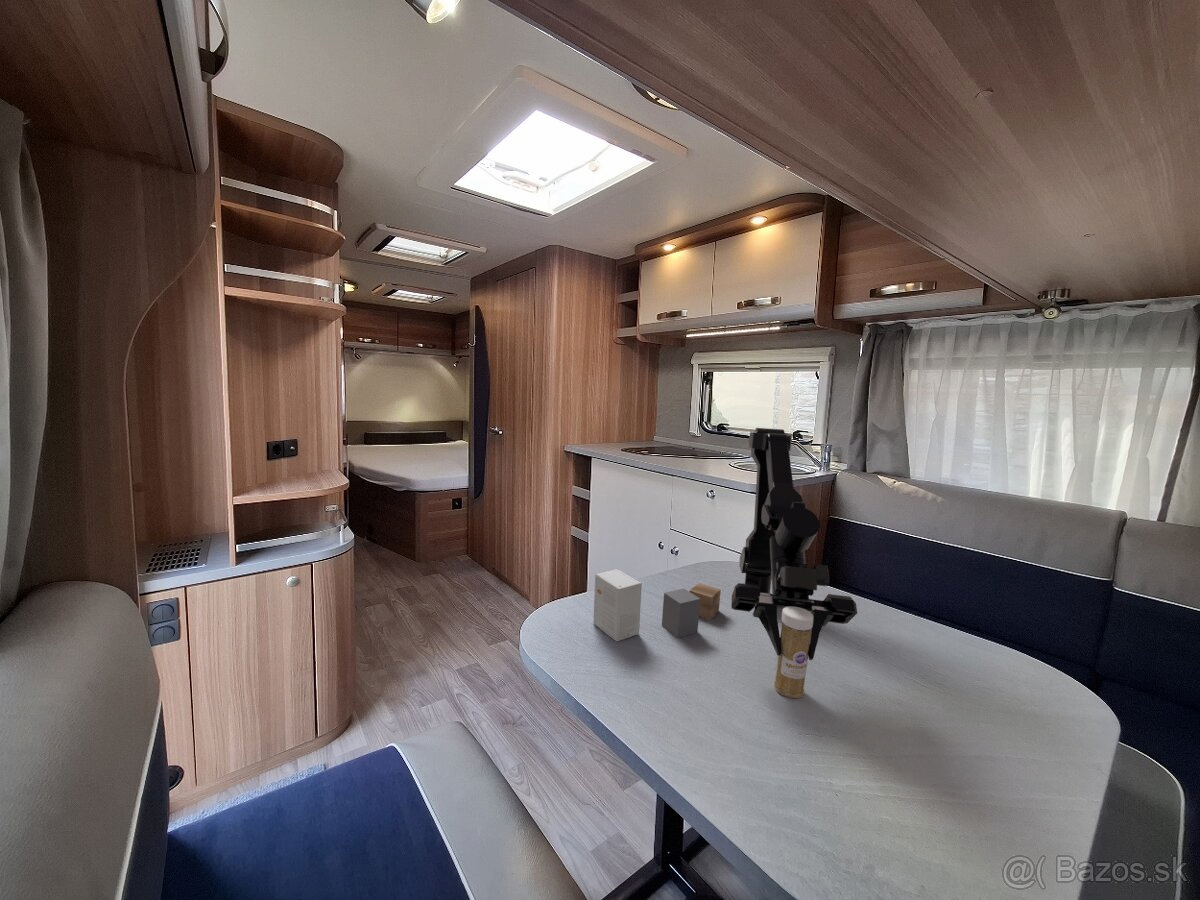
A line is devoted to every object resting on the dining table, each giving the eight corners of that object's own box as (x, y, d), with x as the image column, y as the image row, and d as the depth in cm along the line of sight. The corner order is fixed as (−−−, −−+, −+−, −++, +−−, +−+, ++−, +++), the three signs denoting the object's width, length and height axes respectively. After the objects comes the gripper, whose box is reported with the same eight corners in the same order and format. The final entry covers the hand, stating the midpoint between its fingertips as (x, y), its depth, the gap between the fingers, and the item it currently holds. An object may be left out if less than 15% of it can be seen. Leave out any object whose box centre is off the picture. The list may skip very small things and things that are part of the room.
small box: (639, 635, 90) (643, 583, 89) (616, 642, 87) (619, 589, 86) (615, 616, 97) (617, 568, 95) (592, 623, 94) (594, 573, 92)
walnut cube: (697, 604, 104) (699, 582, 104) (718, 611, 102) (720, 589, 101) (687, 612, 100) (689, 590, 100) (709, 620, 97) (711, 597, 97)
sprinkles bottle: (788, 702, 73) (798, 621, 71) (767, 684, 77) (776, 607, 75) (810, 696, 75) (820, 616, 73) (789, 679, 79) (797, 603, 77)
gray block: (681, 620, 97) (683, 588, 96) (697, 632, 92) (700, 598, 91) (661, 625, 94) (664, 592, 93) (677, 637, 90) (680, 603, 89)
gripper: (739, 537, 78) (740, 633, 69) (861, 549, 75) (879, 652, 65) (731, 564, 87) (731, 653, 77) (839, 577, 83) (852, 671, 74)
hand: (795, 657), depth 73 cm, fingers closed on sprinkles bottle, 4 cm apart
